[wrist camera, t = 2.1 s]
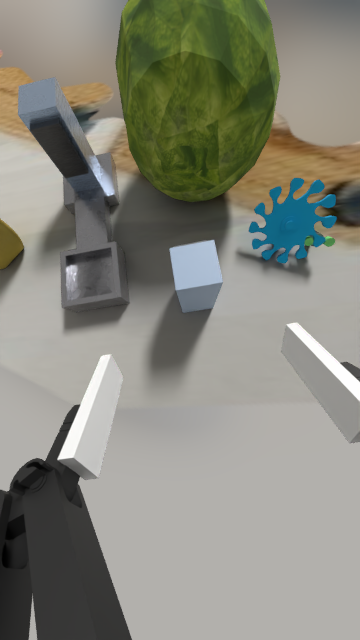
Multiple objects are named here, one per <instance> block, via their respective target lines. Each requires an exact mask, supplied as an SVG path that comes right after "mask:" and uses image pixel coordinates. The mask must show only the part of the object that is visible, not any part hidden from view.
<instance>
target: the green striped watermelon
mask: <svg viewBox="0 0 360 640" xmlns="http://www.w3.org/2000/svg"><path fill="white" fill-rule="evenodd" d="M116 70H117V77H118V83H119V89H120V96H121V103H122V109H123V115H124V121H125V124H126V129H127V136H128V142H129V149H130V152H131V154H132V156H133V158H134V160H135V162H136V164H137V166H138V168H139V170H140V172H141V173H142V174H143V175H144V176H145V177H146V178H147V180H148V181H149V182H150V183H151V184H152V185H153V186H154V187H155V188H156V189H158V190H160V191H161V192H163V193H165V194H166V195H168V196H170V197H172V198H175V199H179V200H184V201H188V202H196V201H205V200H210V199H212V198H214V197H216V196H218V195H220V194H223V193H225V192H226V191H228V190H229V189H230V188H231V187H232V186H233V185H235V184H236V183H237V182H238V181H239V180H240V179H241V178H242V177H243V176H244V175H245V174H246V173H247V172H248V171H249V170H250V169H251V168H252V167H253V166H254V165H255V163H256V161H257V159H258V157H259V155H260V153H261V151H262V149H263V148H264V146H265V144H266V142H267V140H268V138H269V135H270V131H271V127H272V122H273V117H274V111H275V105H276V99H277V93H278V86H279V81H280V73H279V66H278V60H277V54H276V47H275V42H274V36H273V29H272V24H271V20H270V17H269V14H268V11H267V7H266V4H265V1H264V0H128V2H127V4H126V6H125V8H124V10H123V11H122V16H121V23H120V31H119V39H118V47H117V55H116Z"/></svg>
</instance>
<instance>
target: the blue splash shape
mask: <svg viewBox="0 0 360 640" xmlns="http://www.w3.org/2000/svg"><path fill="white" fill-rule="evenodd" d="M303 183H304V180H303V179H301V178H294V179H293V180H292V181H291V183H290V192H289V195H288V197H287V198H286V200H285V201H284V202H283V203H282V204H278V203H277V199H278V197H279V195H280V194H281V191H282V189H281V187H275V188H273V189H271V190H270V193H269V194H270V197H271V198H272V200H273V211H272V213H271V214H269V215H266V214H265V205H264V204H263V203H260V204H259V205H258V206H257V207H256V208H255V209H254V211H255V213H256V214H259V215H261V216H263V217H264V219H265V221H266V226H265V227H264V228H259V226H258V224H257V223H256V222H252V223H251V225H250V228H249V232H251V233H254V232H262V233H264V234H266V235H267V238H266V239H265V240H264V241H261V240H259V239H254V240H253V241H252V246H253V249H257V248H259V247H260V246H262V245H264V244H273V245H274V247H273V249H271V250H265V251H263V252H262V257H263V258H264V259H265V260H269V259H270V258H271V256H272V254H273V253H274V252H275V251H276V250H278V249H280V248H286V250H285V252H284V253H282V254H280V255H279V256H278V257H277V261H278V262H280V263H286V262H287V261H288V254H289V252H290V250H291V249H292V248H293V246H295V245H300V248H299V249H298V250H297V252H296V253H295V256H296V258H297V259H301V258H305V257H307V252H306V250H305V248H304V244H305V245H306V246H310V245H311V246H315V247H318V246H320V245H321V244H324V245H326V246H328V247H329V246H332V245H333V244H334V243H335V239H334V238H332V237H330V236H327V237H325V238H324V237H323V235H322V234H320V233H318V232H317V231H315V230H314V224H315V223H316V222H318V221H321V222H322V225H323V226H324V227H326V228H331V227H332V226H333V225H334V223H335V221H336V219H337V218H336V217H335V216H327V217H320V216H318V215H316V214H315V209H316V208H317V207H318V206H320V205H321V206H323V207H326V208H331V207H333V206H334V205H335V201H336V198H335V195H328V196H326V197H325V198H324V199H322V200H321V201H319V202H316V203H310V204H309V203H308V202H307V198H308V196H309V195H310V194H313V193H319V192H321V191H322V190H323V189H324V184H323V183H322V181H320V180H316V181H314V182H313V183H312V185H311V187H310V188H309V190H308V191H307V192H306V193H305V194H304V195H303V196H302V197H300V198H298V199H296V200H295V199H294V198H293V193H294V192H295V191H296V190H298V189H299V188H301V187H302V185H303Z"/></svg>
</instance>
